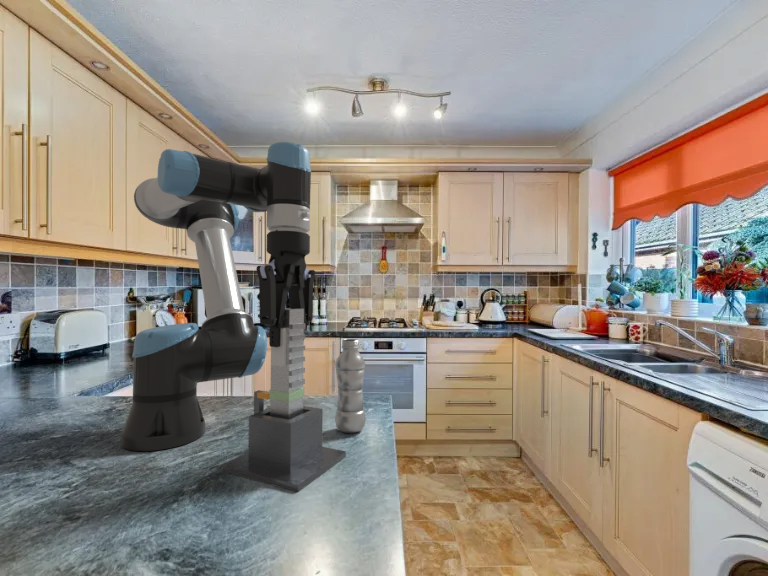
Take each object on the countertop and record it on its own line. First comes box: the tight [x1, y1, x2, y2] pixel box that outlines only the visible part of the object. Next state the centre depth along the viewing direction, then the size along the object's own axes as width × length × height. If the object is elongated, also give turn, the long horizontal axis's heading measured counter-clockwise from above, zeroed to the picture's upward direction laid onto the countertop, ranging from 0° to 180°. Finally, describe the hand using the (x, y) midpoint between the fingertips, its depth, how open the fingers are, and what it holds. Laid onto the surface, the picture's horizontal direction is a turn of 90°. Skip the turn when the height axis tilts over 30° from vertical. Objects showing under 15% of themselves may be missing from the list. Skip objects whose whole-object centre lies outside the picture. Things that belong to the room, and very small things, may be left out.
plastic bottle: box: [334, 338, 366, 434], centre depth 84 cm, size 6×7×20 cm
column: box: [268, 307, 306, 420], centre depth 68 cm, size 5×4×20 cm
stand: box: [221, 390, 347, 492], centre depth 68 cm, size 16×14×12 cm
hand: (287, 363), depth 68 cm, fingers closed on column, 4 cm apart
